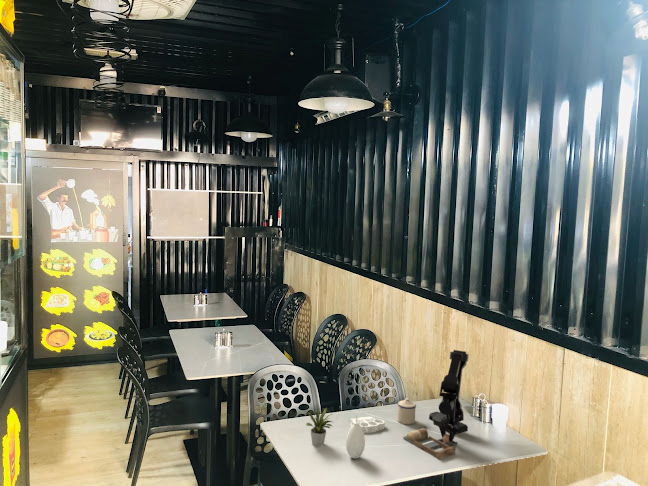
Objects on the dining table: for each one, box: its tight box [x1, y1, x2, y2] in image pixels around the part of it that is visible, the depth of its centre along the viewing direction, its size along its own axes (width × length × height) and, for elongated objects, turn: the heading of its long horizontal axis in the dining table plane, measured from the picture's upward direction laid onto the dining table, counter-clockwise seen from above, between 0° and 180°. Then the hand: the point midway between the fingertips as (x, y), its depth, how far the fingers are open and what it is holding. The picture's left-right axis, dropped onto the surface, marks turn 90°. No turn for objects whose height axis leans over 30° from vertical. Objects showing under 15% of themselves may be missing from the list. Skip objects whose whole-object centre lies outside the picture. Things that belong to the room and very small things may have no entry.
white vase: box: [345, 416, 366, 460], centre depth 218 cm, size 8×8×18 cm
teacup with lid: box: [397, 397, 417, 425], centre depth 260 cm, size 12×9×12 cm
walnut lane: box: [414, 435, 457, 460], centre depth 229 cm, size 11×15×3 cm
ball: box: [442, 433, 451, 444], centre depth 236 cm, size 4×4×4 cm
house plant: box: [302, 407, 333, 448], centre depth 228 cm, size 14×14×16 cm
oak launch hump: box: [406, 427, 429, 442], centre depth 238 cm, size 9×5×5 cm, turn 125°
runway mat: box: [402, 435, 441, 451], centre depth 235 cm, size 10×14×1 cm
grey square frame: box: [437, 437, 458, 447], centre depth 236 cm, size 7×7×1 cm
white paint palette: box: [348, 415, 386, 434], centre depth 250 cm, size 3×18×15 cm
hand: (446, 440), depth 236 cm, fingers closed on ball, 4 cm apart
